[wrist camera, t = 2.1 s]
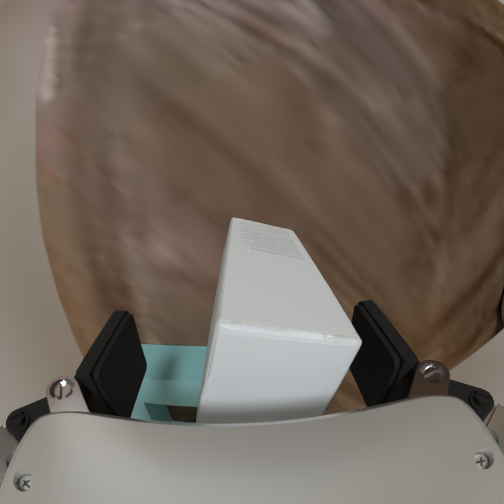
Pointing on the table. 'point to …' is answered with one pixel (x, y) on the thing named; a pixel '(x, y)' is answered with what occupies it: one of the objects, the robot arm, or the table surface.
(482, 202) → the table surface
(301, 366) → the skincare box
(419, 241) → the table surface
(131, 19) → the table surface
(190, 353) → the hollow square block
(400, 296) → the table surface
